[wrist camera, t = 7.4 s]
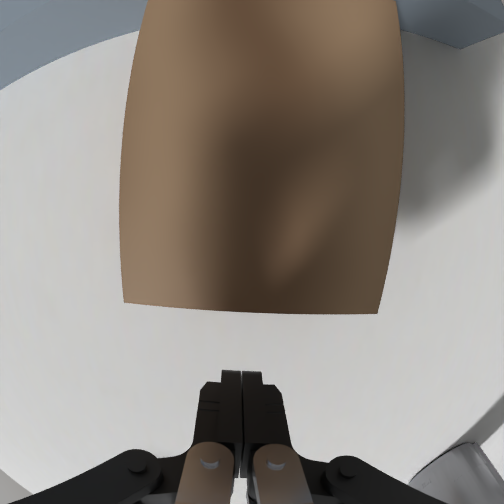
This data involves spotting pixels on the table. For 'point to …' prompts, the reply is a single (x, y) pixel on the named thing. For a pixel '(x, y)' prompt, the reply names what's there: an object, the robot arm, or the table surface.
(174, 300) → the block
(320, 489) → the robot arm
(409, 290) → the table surface
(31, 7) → the board
